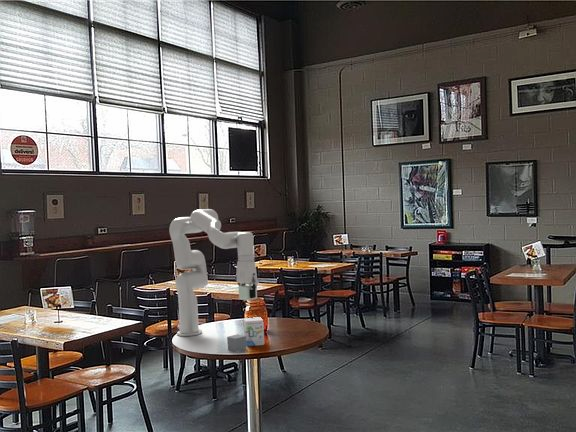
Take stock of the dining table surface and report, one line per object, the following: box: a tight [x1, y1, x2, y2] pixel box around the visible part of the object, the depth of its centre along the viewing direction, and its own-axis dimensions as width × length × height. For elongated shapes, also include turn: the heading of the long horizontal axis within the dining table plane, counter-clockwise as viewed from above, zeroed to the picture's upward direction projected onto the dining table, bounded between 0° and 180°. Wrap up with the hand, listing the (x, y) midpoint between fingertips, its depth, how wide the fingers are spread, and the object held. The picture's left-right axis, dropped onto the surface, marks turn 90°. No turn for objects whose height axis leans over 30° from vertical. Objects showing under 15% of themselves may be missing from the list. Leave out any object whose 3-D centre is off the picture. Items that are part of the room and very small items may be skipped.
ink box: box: [243, 317, 265, 347], centre depth 268 cm, size 8×8×12 cm
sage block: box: [237, 284, 258, 301], centre depth 267 cm, size 6×6×6 cm
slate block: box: [226, 333, 248, 353], centre depth 258 cm, size 6×6×6 cm
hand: (248, 296), depth 267 cm, fingers closed on sage block, 6 cm apart
